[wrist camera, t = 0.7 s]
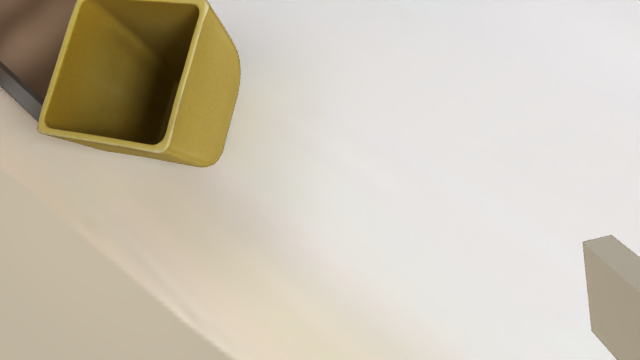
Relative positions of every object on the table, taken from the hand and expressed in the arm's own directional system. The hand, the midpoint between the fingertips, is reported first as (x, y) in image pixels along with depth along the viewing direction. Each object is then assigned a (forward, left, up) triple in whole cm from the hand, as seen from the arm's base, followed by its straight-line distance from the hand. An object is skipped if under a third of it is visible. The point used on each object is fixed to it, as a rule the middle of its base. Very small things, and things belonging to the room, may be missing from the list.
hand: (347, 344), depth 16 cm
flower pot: (-14, -15, -19) cm, 29 cm away
